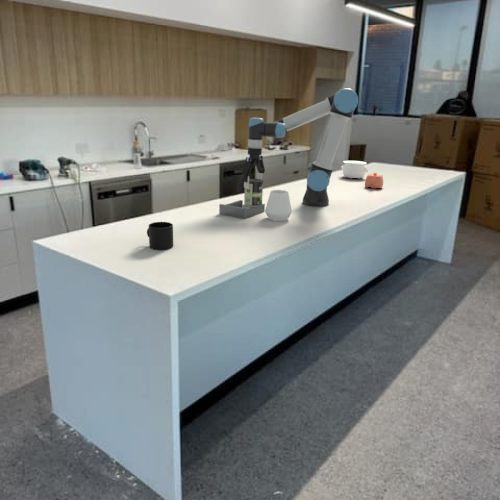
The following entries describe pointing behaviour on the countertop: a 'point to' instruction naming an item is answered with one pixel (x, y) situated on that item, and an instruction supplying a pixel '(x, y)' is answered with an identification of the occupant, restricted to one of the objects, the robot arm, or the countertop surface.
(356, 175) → the pot
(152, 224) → the mug
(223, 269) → the countertop surface
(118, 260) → the countertop surface
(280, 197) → the cup
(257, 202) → the coffee can
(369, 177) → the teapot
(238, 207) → the grey u-shaped frame
